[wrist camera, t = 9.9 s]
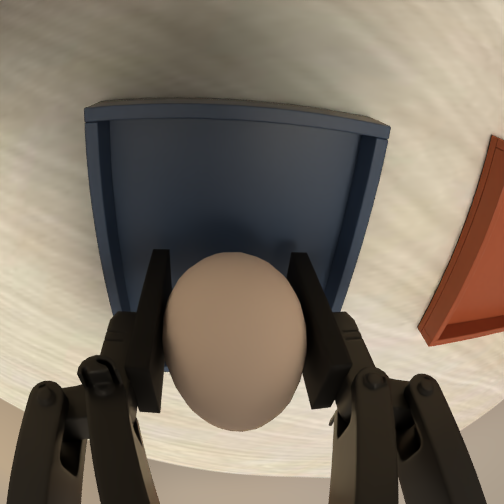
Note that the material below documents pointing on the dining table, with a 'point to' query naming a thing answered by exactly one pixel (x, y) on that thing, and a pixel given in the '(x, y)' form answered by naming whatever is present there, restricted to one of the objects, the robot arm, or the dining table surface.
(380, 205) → the dining table surface
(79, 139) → the dining table surface
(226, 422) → the egg
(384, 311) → the dining table surface
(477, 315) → the terracotta tray
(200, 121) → the blue tray
